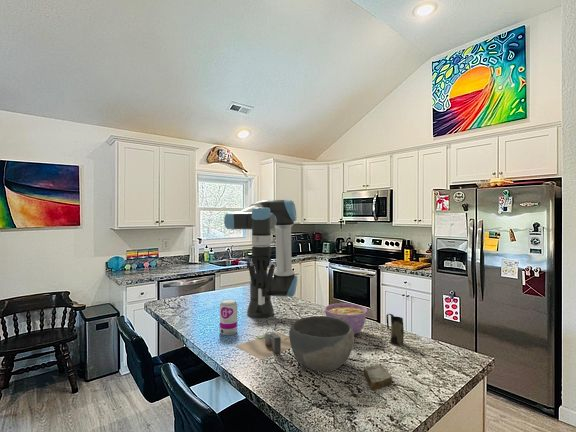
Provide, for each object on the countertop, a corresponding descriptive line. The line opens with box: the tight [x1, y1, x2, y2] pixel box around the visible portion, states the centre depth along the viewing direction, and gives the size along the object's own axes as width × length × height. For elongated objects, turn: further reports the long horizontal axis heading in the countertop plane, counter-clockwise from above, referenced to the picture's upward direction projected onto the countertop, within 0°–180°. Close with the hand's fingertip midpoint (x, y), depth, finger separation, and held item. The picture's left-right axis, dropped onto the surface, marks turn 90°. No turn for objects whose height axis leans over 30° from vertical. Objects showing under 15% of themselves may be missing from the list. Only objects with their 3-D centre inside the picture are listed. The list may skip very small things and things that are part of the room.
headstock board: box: [234, 331, 292, 360], centre depth 141 cm, size 24×20×2 cm
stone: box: [362, 363, 393, 392], centre depth 113 cm, size 15×8×3 cm, turn 0°
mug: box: [386, 313, 405, 347], centre depth 145 cm, size 8×6×12 cm
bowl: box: [288, 315, 355, 373], centre depth 124 cm, size 24×24×15 cm
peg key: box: [262, 331, 282, 354], centre depth 140 cm, size 21×4×6 cm, turn 19°
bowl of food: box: [324, 302, 368, 335], centre depth 157 cm, size 20×20×12 cm
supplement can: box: [219, 298, 238, 336], centre depth 158 cm, size 8×8×15 cm
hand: (261, 304), depth 133 cm, fingers closed
